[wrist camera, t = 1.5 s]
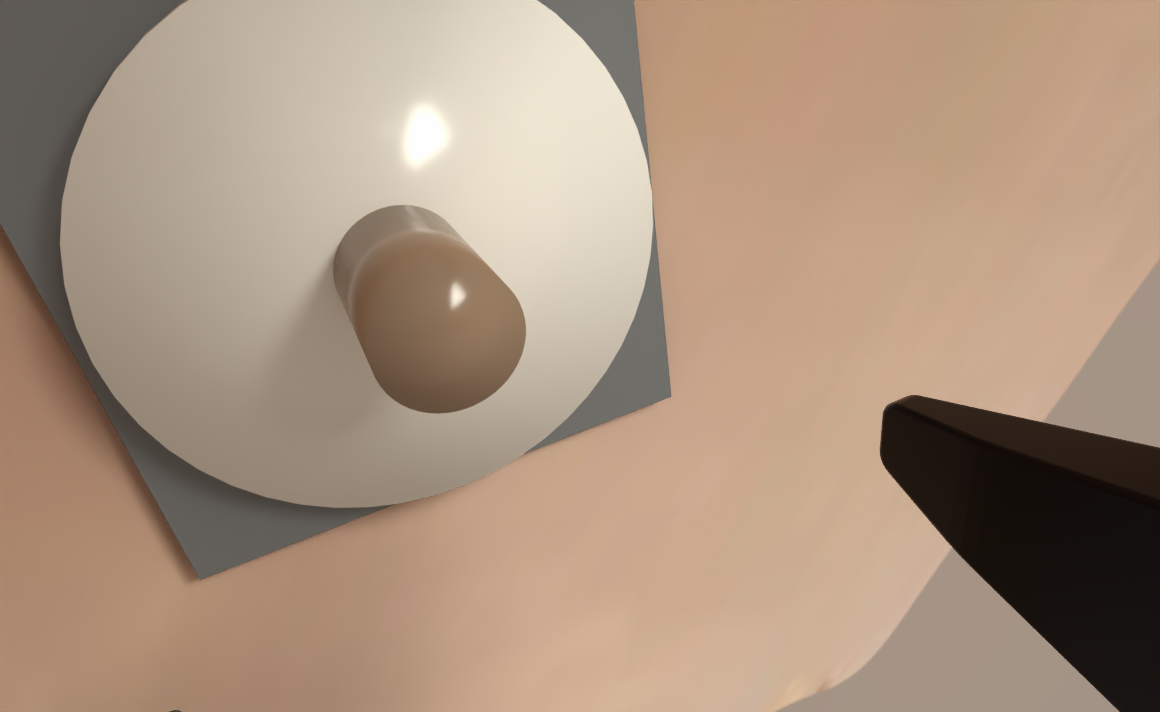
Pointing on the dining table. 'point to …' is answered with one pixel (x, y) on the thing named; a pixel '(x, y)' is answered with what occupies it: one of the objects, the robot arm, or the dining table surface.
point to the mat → (32, 224)
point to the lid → (355, 239)
